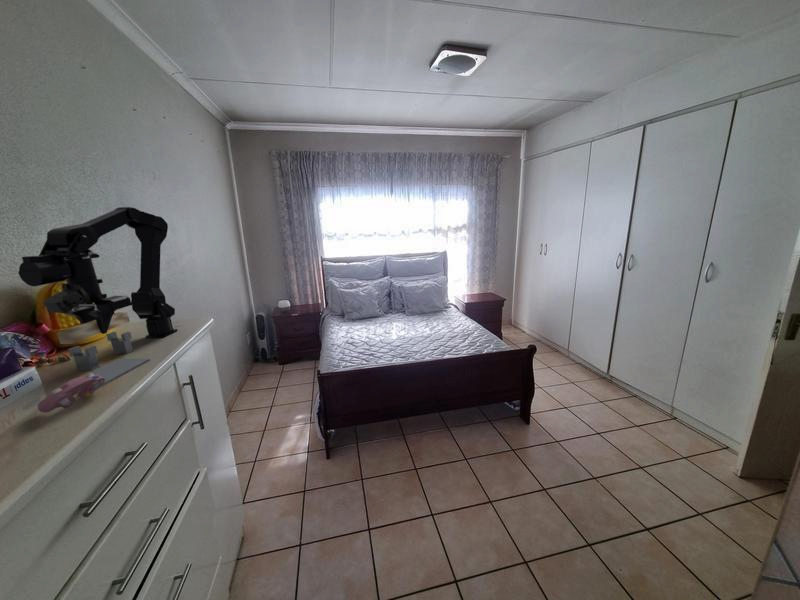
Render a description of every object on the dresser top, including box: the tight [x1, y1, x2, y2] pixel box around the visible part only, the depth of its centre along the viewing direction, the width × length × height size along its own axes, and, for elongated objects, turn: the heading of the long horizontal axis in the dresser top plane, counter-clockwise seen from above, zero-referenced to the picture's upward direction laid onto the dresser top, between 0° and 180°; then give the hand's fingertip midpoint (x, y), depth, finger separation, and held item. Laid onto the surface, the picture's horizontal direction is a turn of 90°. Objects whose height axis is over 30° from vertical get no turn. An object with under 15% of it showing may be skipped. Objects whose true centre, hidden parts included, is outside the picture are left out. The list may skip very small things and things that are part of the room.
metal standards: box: [67, 331, 134, 371], centre depth 87 cm, size 12×6×6 cm, turn 175°
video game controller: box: [37, 372, 105, 414], centre depth 66 cm, size 10×5×7 cm
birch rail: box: [56, 312, 131, 345], centre depth 85 cm, size 16×3×3 cm, turn 175°
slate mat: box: [58, 357, 151, 389], centre depth 79 cm, size 16×9×1 cm, turn 175°
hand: (98, 333), depth 85 cm, fingers closed on birch rail, 3 cm apart
